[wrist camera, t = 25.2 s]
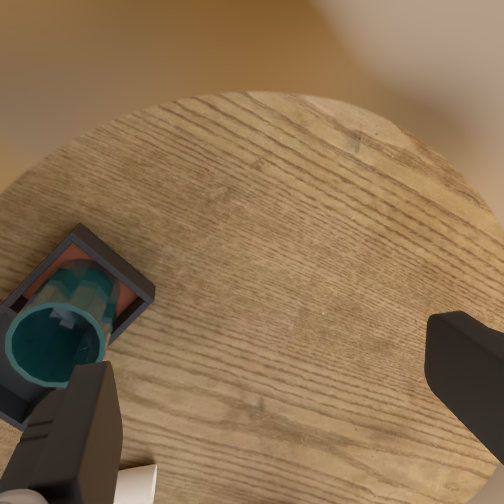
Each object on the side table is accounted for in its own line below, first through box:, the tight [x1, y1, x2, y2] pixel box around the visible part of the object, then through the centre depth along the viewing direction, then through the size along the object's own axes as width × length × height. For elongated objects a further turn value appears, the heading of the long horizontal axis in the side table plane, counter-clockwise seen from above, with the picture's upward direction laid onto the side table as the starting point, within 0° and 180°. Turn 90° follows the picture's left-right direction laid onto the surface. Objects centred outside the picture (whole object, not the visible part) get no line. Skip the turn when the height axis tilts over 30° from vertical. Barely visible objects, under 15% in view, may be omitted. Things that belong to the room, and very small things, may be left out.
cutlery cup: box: [5, 259, 121, 387], centre depth 34 cm, size 6×6×10 cm
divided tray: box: [0, 223, 156, 432], centre depth 39 cm, size 17×9×4 cm, turn 134°
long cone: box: [113, 464, 157, 504], centre depth 43 cm, size 6×6×19 cm
